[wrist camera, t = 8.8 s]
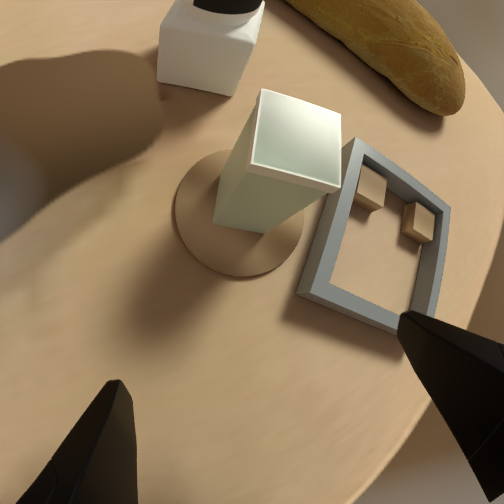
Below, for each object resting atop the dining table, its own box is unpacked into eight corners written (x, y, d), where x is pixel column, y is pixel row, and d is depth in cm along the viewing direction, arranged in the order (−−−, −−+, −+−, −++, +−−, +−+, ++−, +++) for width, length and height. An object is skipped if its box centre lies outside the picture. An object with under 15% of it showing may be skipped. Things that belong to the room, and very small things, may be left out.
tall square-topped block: (265, 235, 23) (340, 188, 13) (210, 224, 22) (250, 163, 12) (271, 184, 24) (340, 114, 14) (219, 172, 23) (261, 88, 13)
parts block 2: (418, 244, 28) (432, 240, 27) (399, 232, 28) (413, 228, 26) (421, 218, 29) (434, 214, 27) (403, 206, 29) (416, 201, 27)
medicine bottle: (244, 50, 26) (286, -41, 15) (232, 99, 25) (279, -5, 13) (177, 35, 24) (196, -61, 13) (155, 83, 23) (165, -28, 12)
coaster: (277, 297, 23) (279, 297, 23) (152, 242, 21) (152, 241, 21) (315, 185, 25) (317, 184, 25) (208, 132, 24) (209, 130, 23)
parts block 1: (370, 212, 27) (383, 207, 25) (344, 199, 26) (356, 192, 25) (374, 186, 28) (387, 179, 26) (350, 172, 27) (362, 164, 25)
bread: (432, 144, 32) (488, 112, 23) (228, -22, 28) (249, -77, 19) (453, 91, 38) (492, 65, 28) (298, -38, 34) (320, -76, 24)
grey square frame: (409, 340, 26) (427, 342, 24) (295, 293, 23) (310, 292, 21) (434, 213, 30) (450, 207, 27) (341, 148, 27) (355, 136, 25)
